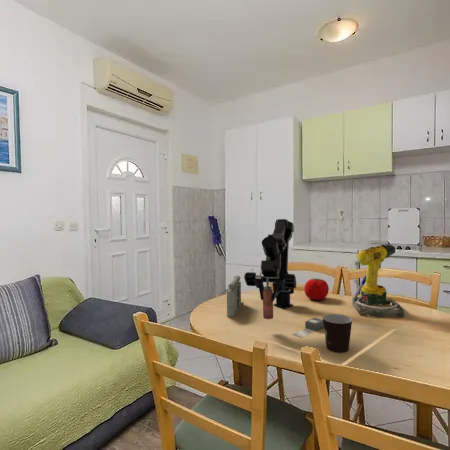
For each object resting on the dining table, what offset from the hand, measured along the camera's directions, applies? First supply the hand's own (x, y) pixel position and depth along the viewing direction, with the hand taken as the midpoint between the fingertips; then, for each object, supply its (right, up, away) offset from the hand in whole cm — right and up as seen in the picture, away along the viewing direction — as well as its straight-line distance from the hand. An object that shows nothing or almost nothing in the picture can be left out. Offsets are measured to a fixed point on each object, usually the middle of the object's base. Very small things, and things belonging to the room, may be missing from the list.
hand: (267, 300), depth 111 cm
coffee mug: (+21, -12, -12) cm, 27 cm away
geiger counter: (-11, -11, +32) cm, 35 cm away
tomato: (+30, -10, +43) cm, 54 cm away
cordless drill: (+51, -10, +24) cm, 58 cm away
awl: (+1, -7, +2) cm, 7 cm away
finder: (+18, -11, +4) cm, 22 cm away
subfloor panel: (+12, -12, +5) cm, 18 cm away
